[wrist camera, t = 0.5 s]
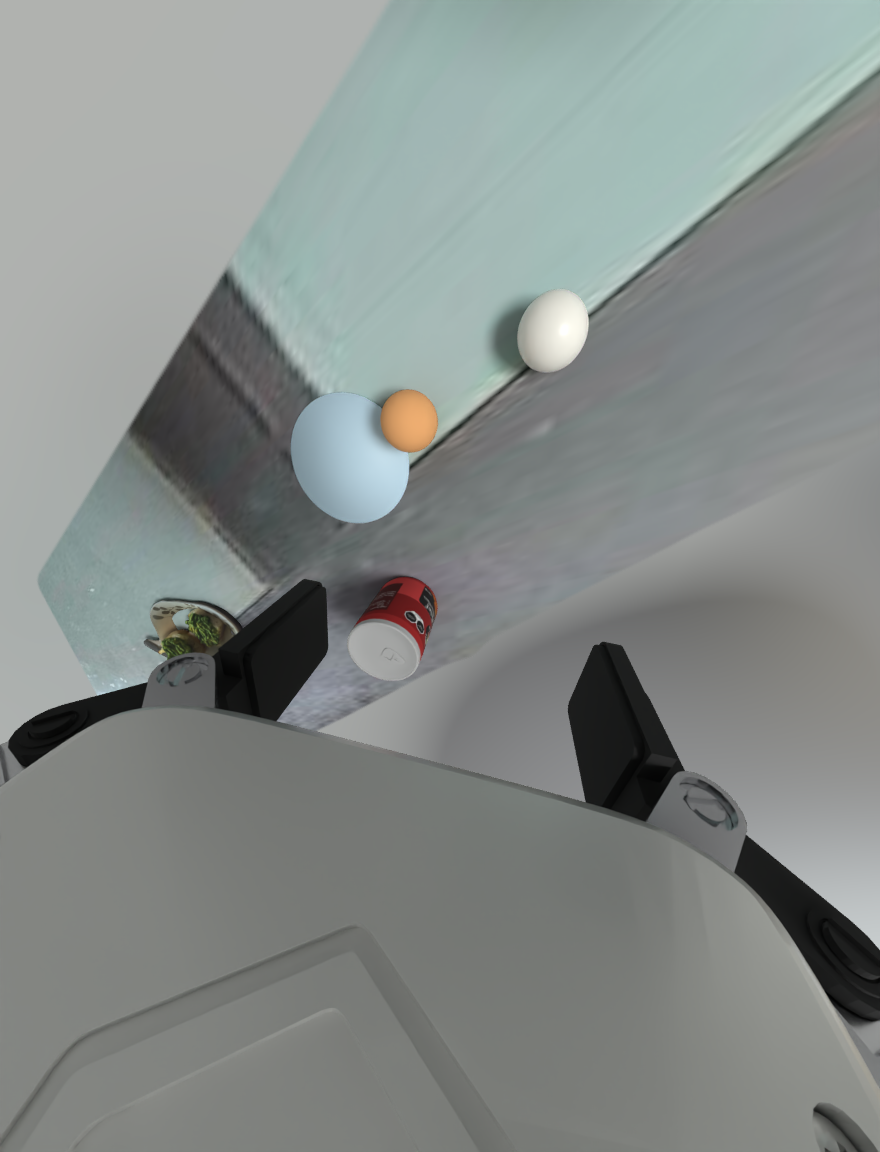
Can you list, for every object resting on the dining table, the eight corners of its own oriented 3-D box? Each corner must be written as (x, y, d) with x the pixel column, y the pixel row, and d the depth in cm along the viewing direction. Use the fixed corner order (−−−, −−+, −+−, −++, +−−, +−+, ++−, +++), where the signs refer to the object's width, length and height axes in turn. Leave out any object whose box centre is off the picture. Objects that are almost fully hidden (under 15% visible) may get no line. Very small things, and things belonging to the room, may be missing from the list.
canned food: (433, 631, 46) (413, 689, 36) (378, 616, 46) (344, 670, 37) (444, 583, 42) (425, 634, 33) (384, 568, 43) (348, 613, 33)
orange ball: (400, 381, 33) (381, 376, 28) (450, 404, 33) (440, 403, 28) (384, 437, 36) (365, 441, 31) (431, 458, 36) (419, 465, 31)
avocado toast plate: (168, 672, 61) (144, 690, 57) (134, 587, 53) (103, 602, 49) (264, 690, 59) (245, 711, 55) (242, 604, 51) (219, 621, 47)
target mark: (303, 369, 34) (301, 369, 34) (427, 425, 34) (426, 425, 34) (283, 494, 41) (282, 494, 41) (388, 540, 41) (387, 541, 41)
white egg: (535, 289, 28) (541, 264, 23) (594, 316, 28) (611, 296, 23) (506, 361, 31) (505, 351, 26) (559, 385, 31) (569, 380, 26)
